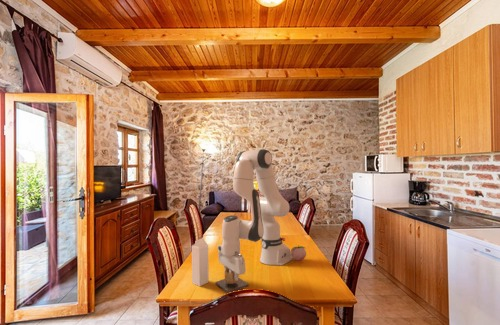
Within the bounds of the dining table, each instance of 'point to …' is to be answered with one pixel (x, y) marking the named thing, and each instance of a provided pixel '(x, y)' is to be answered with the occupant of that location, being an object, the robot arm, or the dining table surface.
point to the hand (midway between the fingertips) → (231, 277)
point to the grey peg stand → (231, 287)
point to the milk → (200, 263)
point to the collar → (229, 277)
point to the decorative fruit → (298, 253)
